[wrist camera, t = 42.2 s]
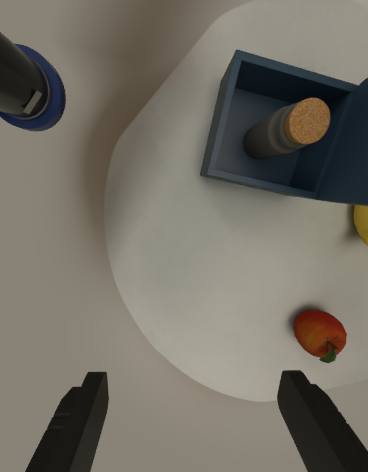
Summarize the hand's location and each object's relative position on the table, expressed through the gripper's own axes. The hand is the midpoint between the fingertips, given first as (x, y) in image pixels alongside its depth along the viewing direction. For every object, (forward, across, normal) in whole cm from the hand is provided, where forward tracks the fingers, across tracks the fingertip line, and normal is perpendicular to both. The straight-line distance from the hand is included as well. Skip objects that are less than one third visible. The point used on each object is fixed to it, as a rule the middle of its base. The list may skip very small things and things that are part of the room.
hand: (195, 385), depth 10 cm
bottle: (+33, -14, -16) cm, 39 cm away
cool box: (+34, -14, -16) cm, 40 cm away
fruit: (+34, -31, +22) cm, 51 cm away
